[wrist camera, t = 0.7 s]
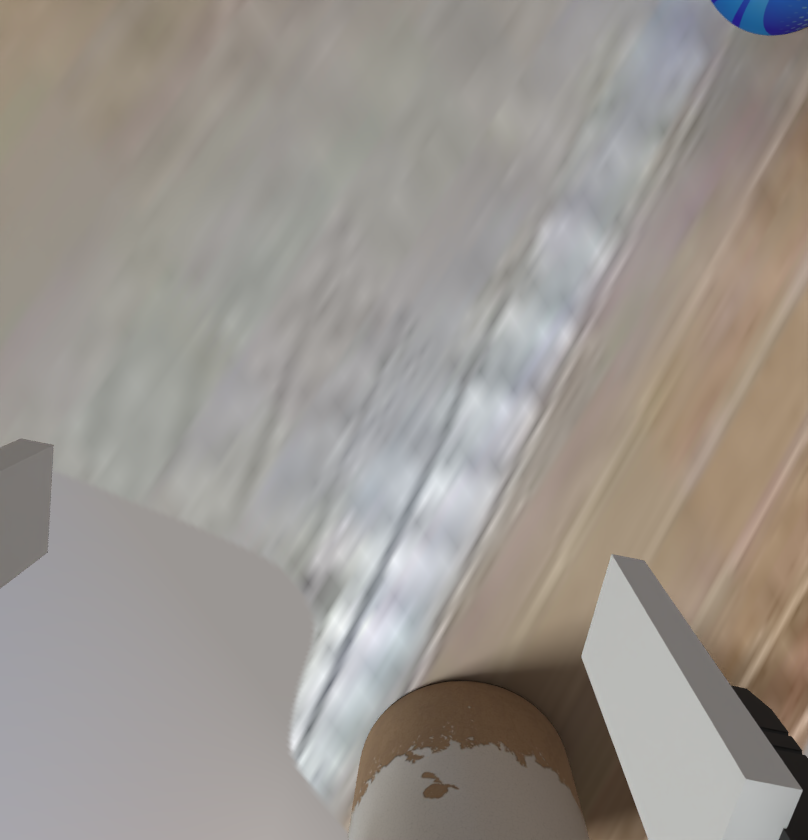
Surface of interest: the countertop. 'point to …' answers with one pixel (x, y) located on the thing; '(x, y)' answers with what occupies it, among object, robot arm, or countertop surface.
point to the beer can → (765, 15)
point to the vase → (465, 770)
